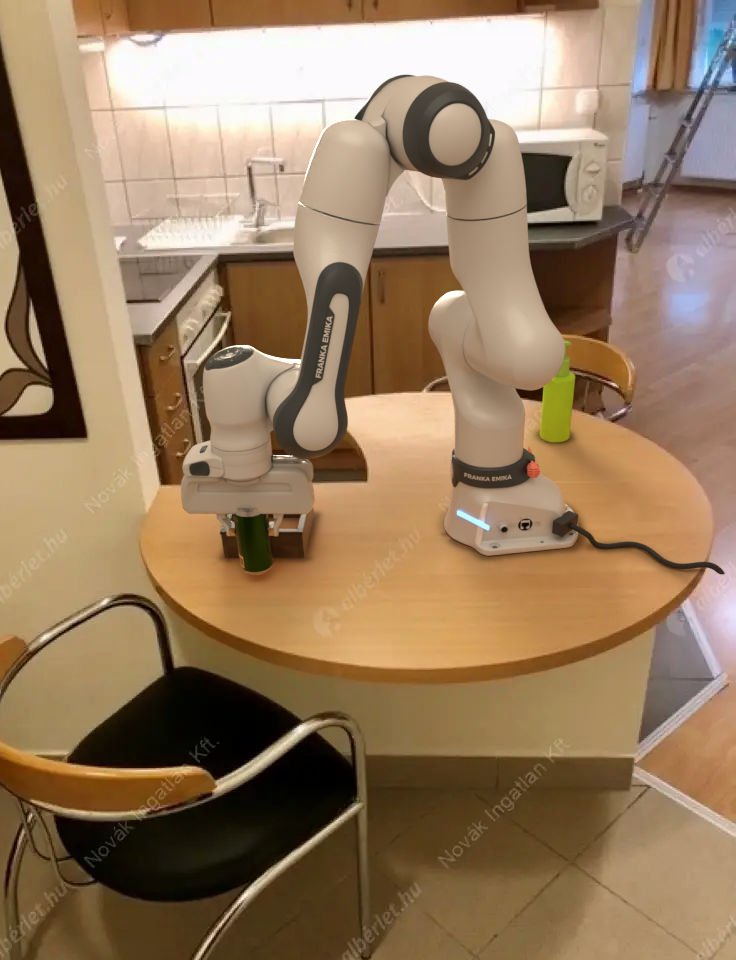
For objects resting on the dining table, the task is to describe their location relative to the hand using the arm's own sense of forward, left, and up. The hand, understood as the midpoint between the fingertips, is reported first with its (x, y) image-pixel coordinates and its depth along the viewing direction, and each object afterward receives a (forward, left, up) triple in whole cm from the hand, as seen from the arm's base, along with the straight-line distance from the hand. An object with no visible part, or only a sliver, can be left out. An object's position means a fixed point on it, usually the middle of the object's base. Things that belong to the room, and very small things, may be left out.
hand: (253, 534), depth 134 cm
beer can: (0, 0, -6) cm, 6 cm away
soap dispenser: (-52, -50, -8) cm, 72 cm away
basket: (0, -12, -8) cm, 15 cm away
